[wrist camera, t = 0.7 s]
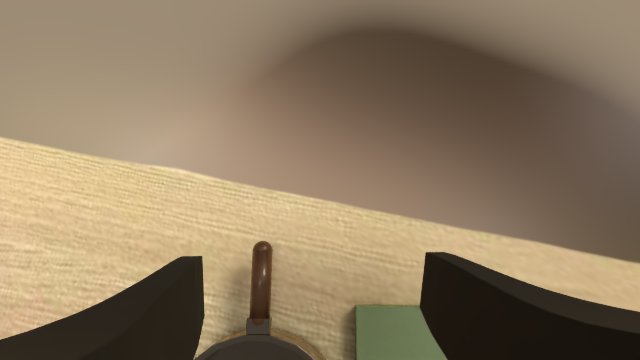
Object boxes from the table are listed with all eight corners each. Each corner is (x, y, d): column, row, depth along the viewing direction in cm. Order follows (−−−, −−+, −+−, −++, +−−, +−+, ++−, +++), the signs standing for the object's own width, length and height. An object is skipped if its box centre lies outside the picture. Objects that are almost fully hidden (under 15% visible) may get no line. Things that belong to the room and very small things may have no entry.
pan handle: (272, 331, 29) (268, 335, 28) (249, 331, 29) (245, 335, 28) (275, 241, 31) (272, 240, 29) (254, 241, 31) (249, 240, 29)
